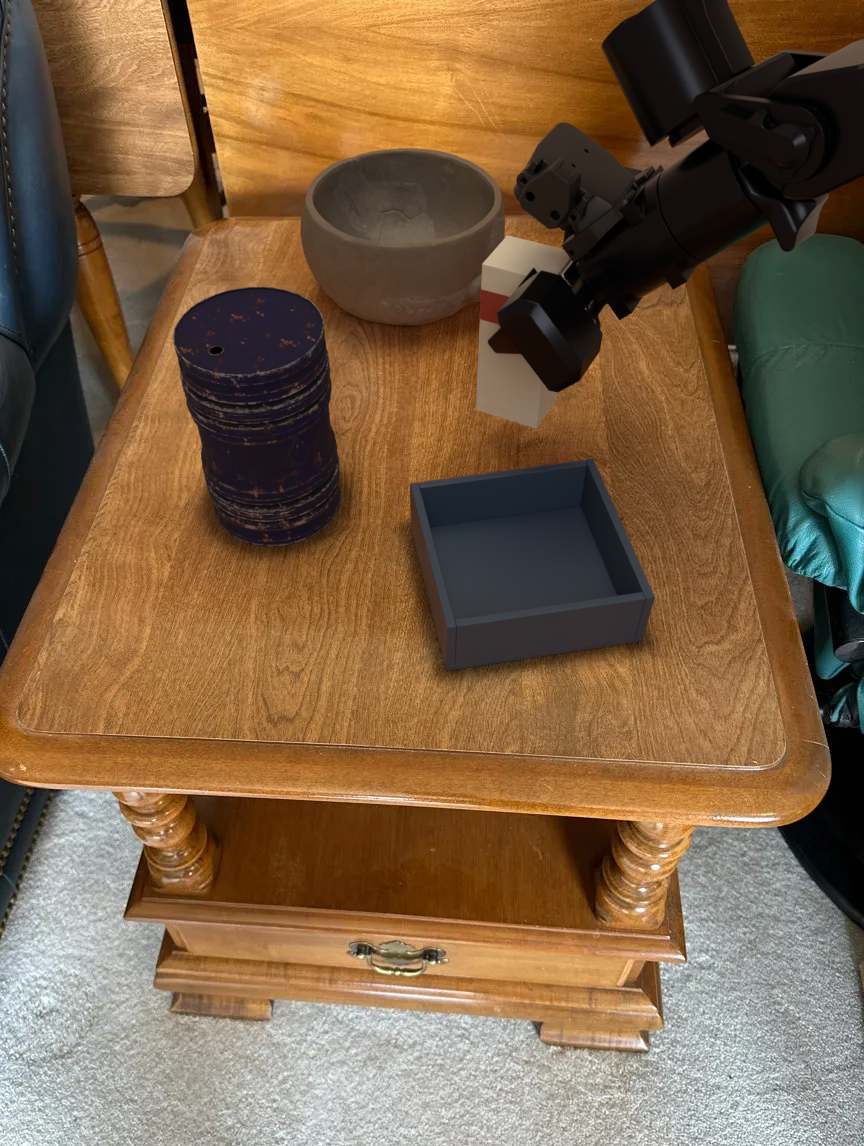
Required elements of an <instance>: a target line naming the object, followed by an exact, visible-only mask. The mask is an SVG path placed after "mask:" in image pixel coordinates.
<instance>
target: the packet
mask: <svg viewBox="0 0 864 1146" xmlns="http://www.w3.org/2000/svg"><path fill="white" fill-rule="evenodd" d="M562 248H563V247H558V246H554V245H549V244H545V243H542V242H541V243H540V242H538V241H537V242H536V241H532V240H530V239H529V240H528V239H524V238H520V237H515V236H511V235H506V236H504V240H503V241H502V242H501V243H500V244H499V245H498V246H497V248H496V249H495V250H494V251H493V252H492V253H491V254H490V256H489V257H488V258H487V259H486V260H485V261H484V262H483V264H482V281H481V299H480V303H479V305H480V306H479V325H478V326H479V327H478V328H479V330H478V348H477V350H478V352H477V370H476V371H477V373H476V374H477V375H476V395H475V411H478V412H481V413H483V414H488V415H491V416H494V417H497V418H499V419H502V420H507V421H510V422H513V423H515V424H518V425H521V426H522V425H523V426H526V427H529V428H532V429H538V427H539V426H540V424H541V422H542V421H543V420H544V418H545V417H546V416H547V414H548V413H549V411H550V410H551V409H552V407H553V406H554V404H555V402H556V401H557V399H558V394H559V392H558V393H557V392H553V391H549V390H548V389H547V388H546V386H545V385H544V384H543V382H542V381H541V380H540V378H539V377H538V376H537V375H536V373H535V372H534V371H533V369H532V368H531V367H530V365H529V364H528V363H527V361H526V360H525V359H524V357H523V356H522V355H521V354H499V353H495V352H494V351H493V350H492V348H491V347H490V346H489V344H488V340H489V338H490V337H491V336H492V335H493V334H494V333H495V332H496V331H497V330H498V329H499V328H500V326H499V322H498V315H497V312H498V311H499V310H500V308H501V307H502V306H503V305H504V304H505V302H506V301H507V300H508V299H509V297H510V296H511V295H512V294H513V293H514V291H515V290H516V289H517V288H518V286H519V285H520V284H521V282H522V281H523V280H524V279H525V277H526V276H527V275H528V274H529V273H530V271H531V270H532V269H533V268H535V269H536V271H537V272H539V271H541V270H543V271H547V272H550V273H554V274H558V275H561V274H562V273H563V271H564V270H565V269H566V267H567V266H568V265H569V264H570V262H571V261H572V260H571V259H570V257H569V256H568V255H567V253H566V252H565V250H564V249H562Z"/></svg>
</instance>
